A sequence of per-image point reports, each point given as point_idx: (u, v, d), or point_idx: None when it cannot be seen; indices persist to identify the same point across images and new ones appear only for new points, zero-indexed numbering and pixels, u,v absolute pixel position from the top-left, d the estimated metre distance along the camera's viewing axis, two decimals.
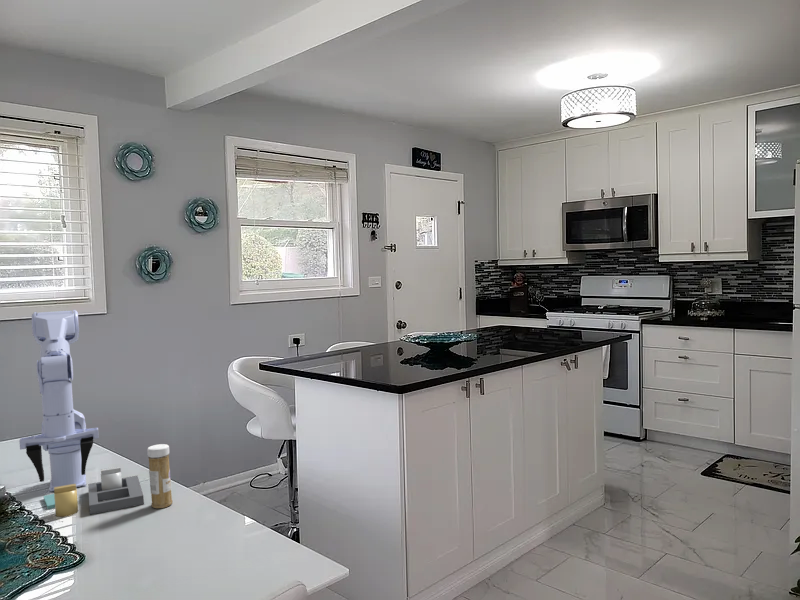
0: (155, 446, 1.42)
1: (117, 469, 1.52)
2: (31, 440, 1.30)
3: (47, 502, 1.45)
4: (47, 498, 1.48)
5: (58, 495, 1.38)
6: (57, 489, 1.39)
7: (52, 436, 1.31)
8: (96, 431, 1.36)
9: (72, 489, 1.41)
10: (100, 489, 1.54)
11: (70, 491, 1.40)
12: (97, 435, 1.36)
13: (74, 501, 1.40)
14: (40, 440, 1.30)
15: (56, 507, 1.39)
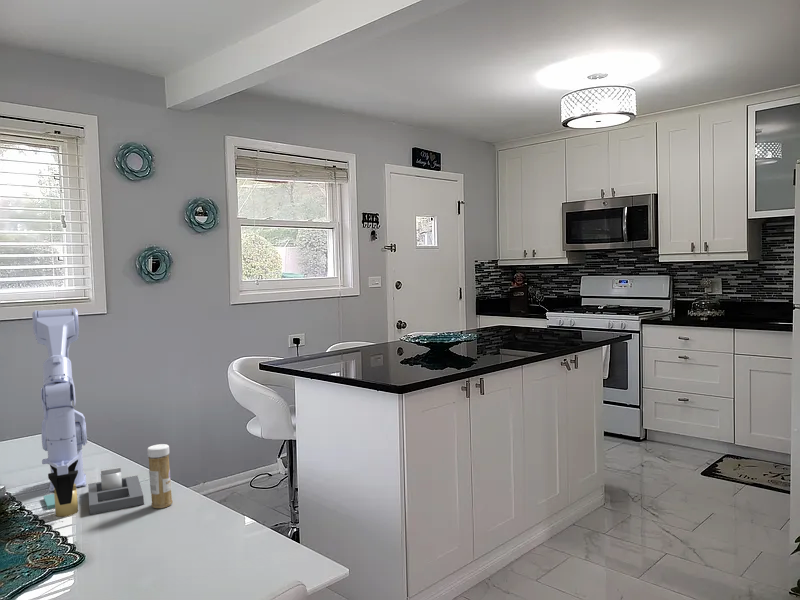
0: (155, 446, 1.42)
1: (117, 469, 1.52)
2: None
3: (47, 502, 1.45)
4: (47, 498, 1.48)
5: None
6: None
7: None
8: (56, 468, 1.33)
9: None
10: (100, 489, 1.54)
11: None
12: (57, 472, 1.33)
13: (74, 501, 1.40)
14: None
15: (56, 507, 1.39)
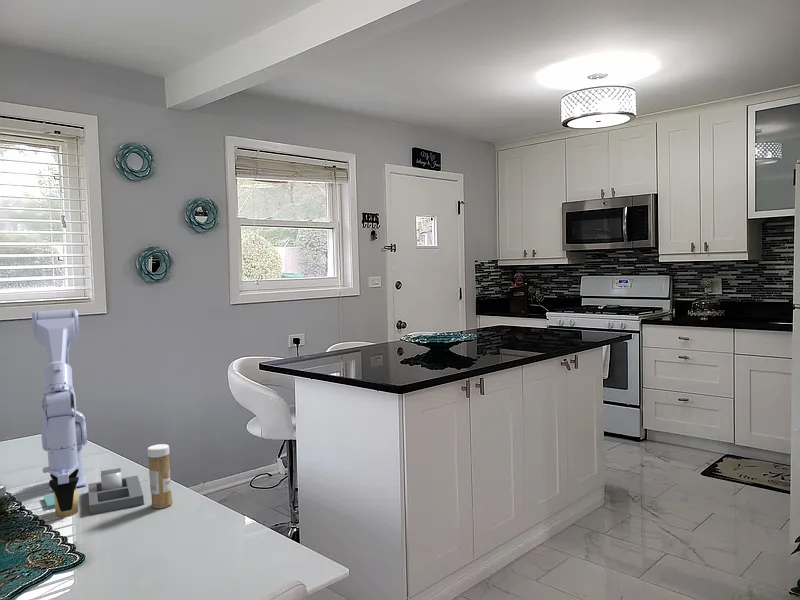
0: (155, 446, 1.42)
1: (117, 469, 1.52)
2: None
3: (47, 502, 1.45)
4: (47, 498, 1.48)
5: None
6: None
7: None
8: (57, 477, 1.34)
9: None
10: (100, 489, 1.54)
11: None
12: (57, 481, 1.34)
13: (74, 501, 1.40)
14: None
15: (56, 507, 1.39)
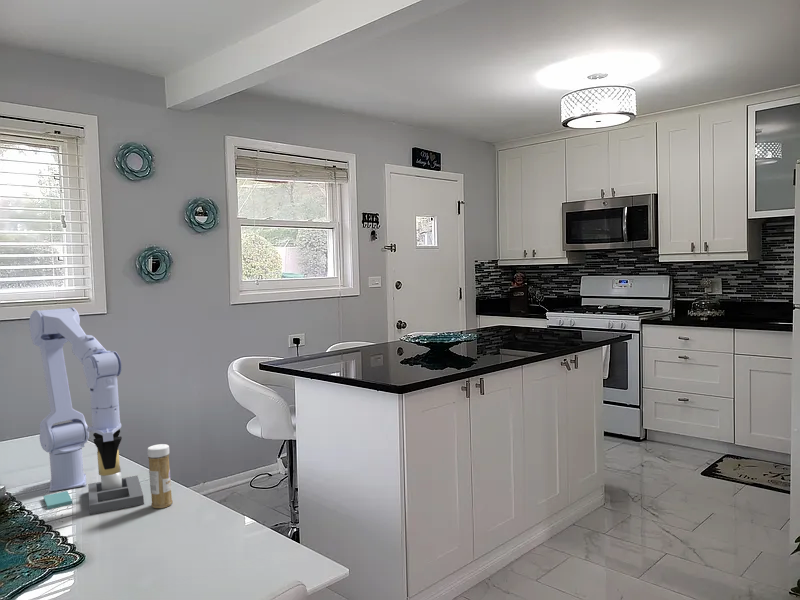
0: (155, 446, 1.42)
1: None
2: None
3: (47, 502, 1.45)
4: (47, 498, 1.48)
5: None
6: None
7: None
8: (102, 434, 1.37)
9: None
10: (100, 489, 1.54)
11: None
12: (103, 438, 1.37)
13: (116, 460, 1.44)
14: None
15: (99, 466, 1.43)
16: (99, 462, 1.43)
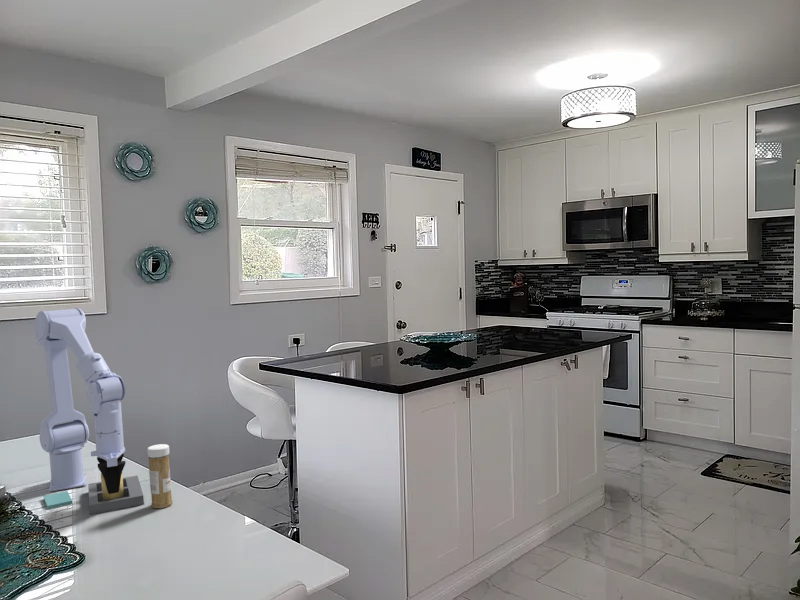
0: (155, 446, 1.42)
1: None
2: None
3: (47, 502, 1.45)
4: (47, 498, 1.48)
5: None
6: None
7: None
8: (106, 459, 1.38)
9: None
10: (100, 489, 1.54)
11: None
12: (107, 464, 1.38)
13: (120, 484, 1.44)
14: None
15: (103, 490, 1.43)
16: (103, 486, 1.43)
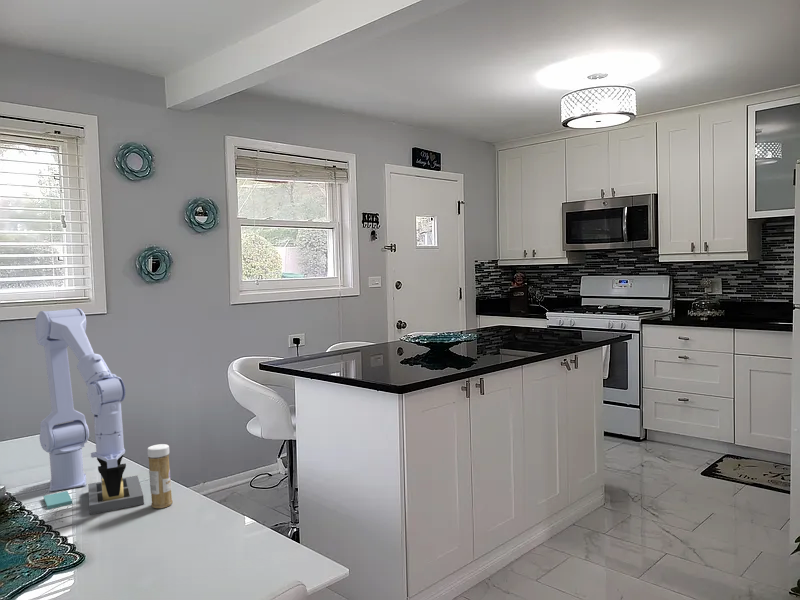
0: (155, 446, 1.42)
1: None
2: None
3: (47, 502, 1.45)
4: (47, 498, 1.48)
5: None
6: None
7: None
8: (106, 461, 1.38)
9: None
10: (100, 489, 1.54)
11: None
12: (107, 465, 1.38)
13: (121, 492, 1.45)
14: None
15: (104, 498, 1.43)
16: (103, 494, 1.43)
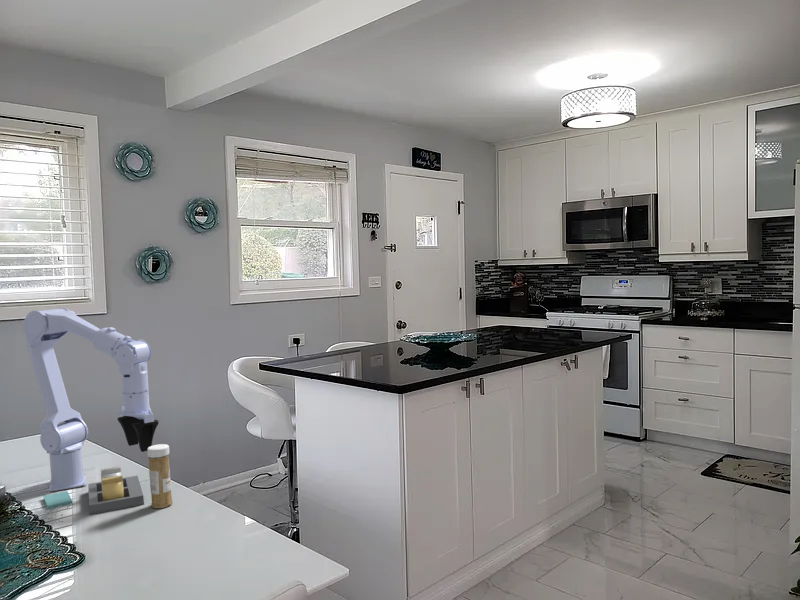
0: (155, 446, 1.42)
1: (117, 469, 1.52)
2: (123, 409, 1.55)
3: (47, 502, 1.45)
4: (47, 498, 1.48)
5: (106, 486, 1.43)
6: (105, 480, 1.44)
7: (124, 410, 1.51)
8: (144, 416, 1.46)
9: (119, 480, 1.45)
10: (100, 489, 1.54)
11: (117, 482, 1.44)
12: (144, 420, 1.46)
13: (121, 492, 1.45)
14: (123, 410, 1.53)
15: (104, 498, 1.43)
16: (104, 494, 1.43)
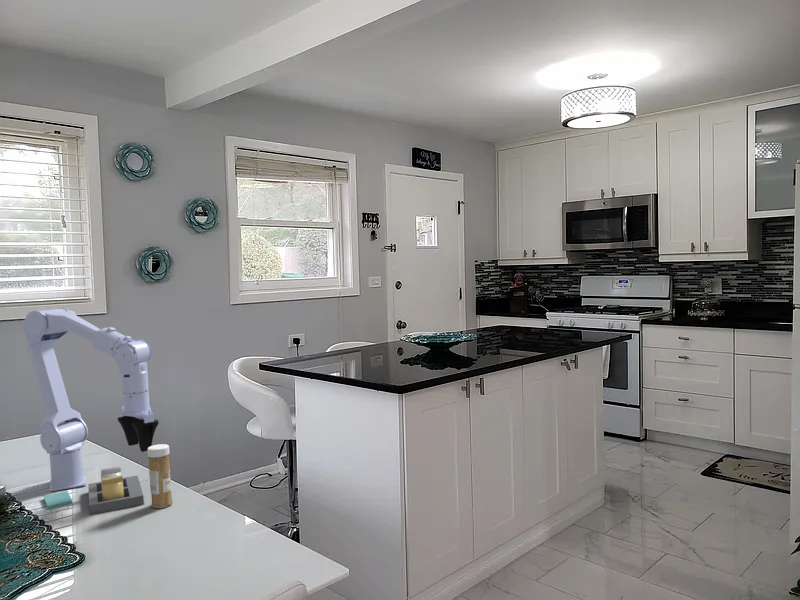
0: (155, 446, 1.42)
1: (117, 469, 1.52)
2: (123, 409, 1.55)
3: (47, 502, 1.45)
4: (47, 498, 1.48)
5: (106, 486, 1.43)
6: (105, 480, 1.44)
7: (124, 410, 1.51)
8: (144, 416, 1.46)
9: (119, 480, 1.45)
10: (100, 489, 1.54)
11: (117, 482, 1.44)
12: (144, 420, 1.46)
13: (121, 492, 1.45)
14: (123, 410, 1.53)
15: (104, 498, 1.43)
16: (104, 494, 1.43)
